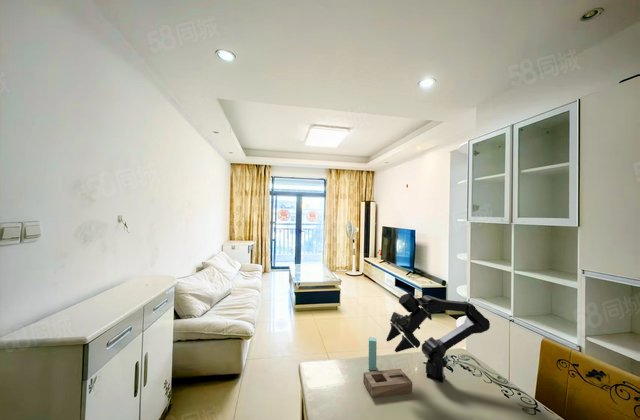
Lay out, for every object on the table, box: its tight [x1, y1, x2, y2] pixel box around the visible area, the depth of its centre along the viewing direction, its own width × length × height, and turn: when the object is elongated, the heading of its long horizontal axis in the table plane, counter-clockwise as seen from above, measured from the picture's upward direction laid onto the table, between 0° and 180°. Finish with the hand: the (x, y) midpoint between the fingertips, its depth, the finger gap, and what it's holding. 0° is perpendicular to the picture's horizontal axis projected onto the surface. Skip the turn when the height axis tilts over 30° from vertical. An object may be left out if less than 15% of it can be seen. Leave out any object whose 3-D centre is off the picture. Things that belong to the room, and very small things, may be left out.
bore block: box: [363, 368, 413, 398], centre depth 99 cm, size 9×17×4 cm, turn 101°
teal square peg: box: [368, 336, 377, 371], centre depth 112 cm, size 3×3×13 cm
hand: (391, 345), depth 105 cm, fingers open, 9 cm apart
